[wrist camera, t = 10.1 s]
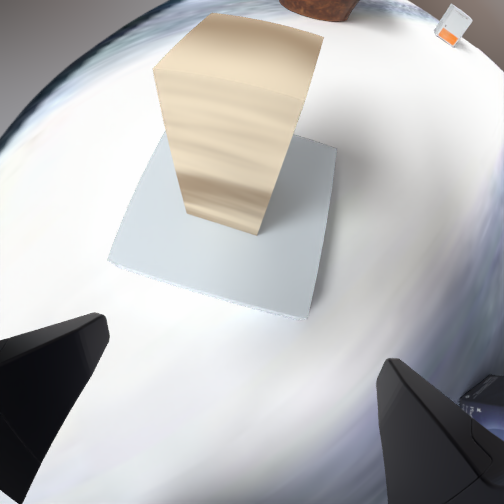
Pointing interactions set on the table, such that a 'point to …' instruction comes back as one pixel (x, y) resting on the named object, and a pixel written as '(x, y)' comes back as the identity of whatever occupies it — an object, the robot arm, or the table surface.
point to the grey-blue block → (233, 235)
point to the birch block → (233, 112)
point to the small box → (487, 404)
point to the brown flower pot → (321, 8)
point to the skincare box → (452, 25)
